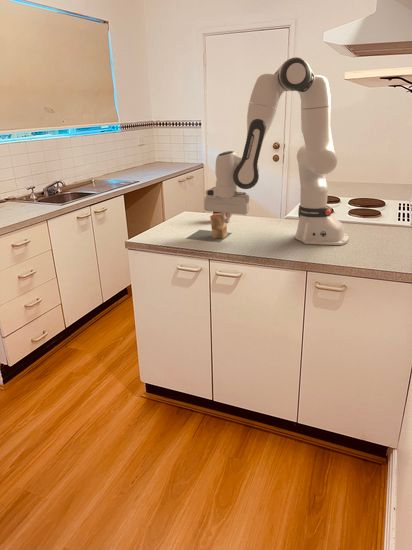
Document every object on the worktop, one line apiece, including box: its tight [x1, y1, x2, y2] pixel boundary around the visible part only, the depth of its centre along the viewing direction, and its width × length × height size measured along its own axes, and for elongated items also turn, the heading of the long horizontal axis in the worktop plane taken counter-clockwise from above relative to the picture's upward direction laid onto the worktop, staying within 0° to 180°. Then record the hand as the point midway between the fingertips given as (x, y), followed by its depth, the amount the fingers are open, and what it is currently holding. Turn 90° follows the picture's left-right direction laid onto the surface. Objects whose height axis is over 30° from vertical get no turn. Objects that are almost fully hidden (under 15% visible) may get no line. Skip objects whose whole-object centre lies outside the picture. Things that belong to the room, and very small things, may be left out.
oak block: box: [209, 213, 228, 238], centre depth 183 cm, size 5×5×10 cm
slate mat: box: [185, 229, 233, 243], centre depth 187 cm, size 17×14×1 cm
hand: (226, 222), depth 180 cm, fingers closed
